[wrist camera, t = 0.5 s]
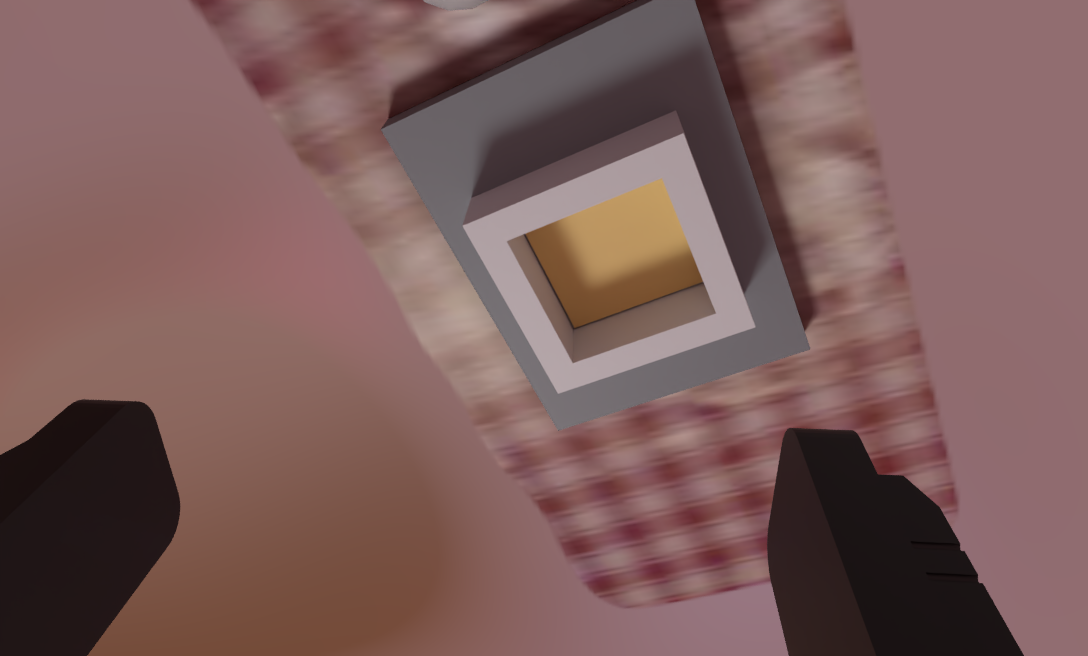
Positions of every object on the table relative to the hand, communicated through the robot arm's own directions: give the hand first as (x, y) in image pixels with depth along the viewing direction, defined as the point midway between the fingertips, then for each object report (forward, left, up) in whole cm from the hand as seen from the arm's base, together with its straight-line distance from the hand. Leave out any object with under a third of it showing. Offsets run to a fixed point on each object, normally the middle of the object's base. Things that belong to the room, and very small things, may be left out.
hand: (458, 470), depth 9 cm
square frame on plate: (+7, +4, -21) cm, 23 cm away
